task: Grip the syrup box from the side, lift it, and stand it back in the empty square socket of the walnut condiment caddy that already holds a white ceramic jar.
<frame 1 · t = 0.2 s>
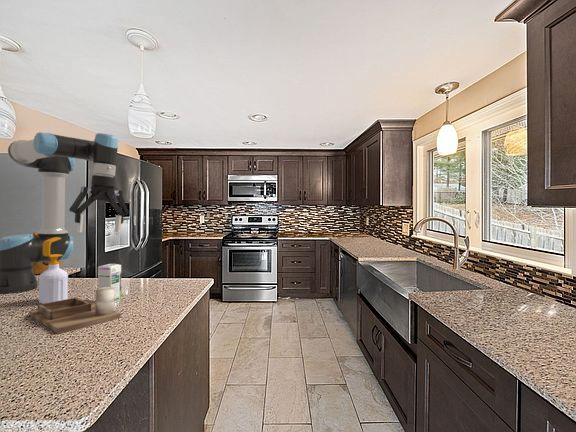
hand: (99, 232, 121), 27 cm above the countertop, tool pointing down, fingers open, 13 cm apart
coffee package: (46, 273, 171), on the countertop
soap bottle: (53, 301, 124), on the countertop
caddy: (74, 316, 108), on the countertop
syrup box: (109, 302, 125), on the countertop
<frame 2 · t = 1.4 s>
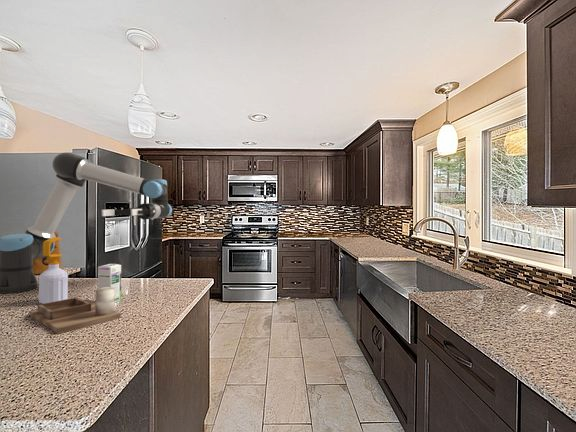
hand: (116, 212, 131), 35 cm above the countertop, tool horizontal, fingers open, 13 cm apart
nothing on the countertop moved.
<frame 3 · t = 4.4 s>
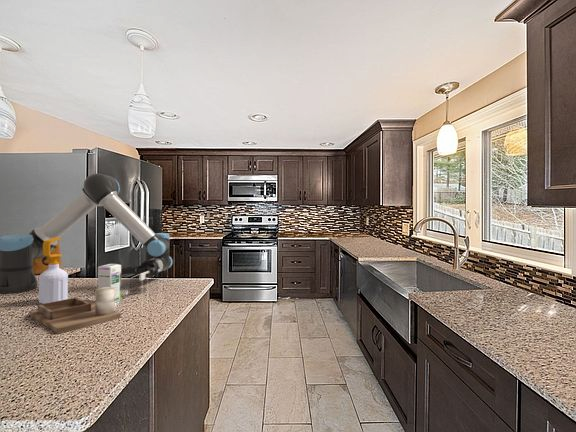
hand: (124, 276, 134), 8 cm above the countertop, tool horizontal, fingers open, 13 cm apart
nothing on the countertop moved.
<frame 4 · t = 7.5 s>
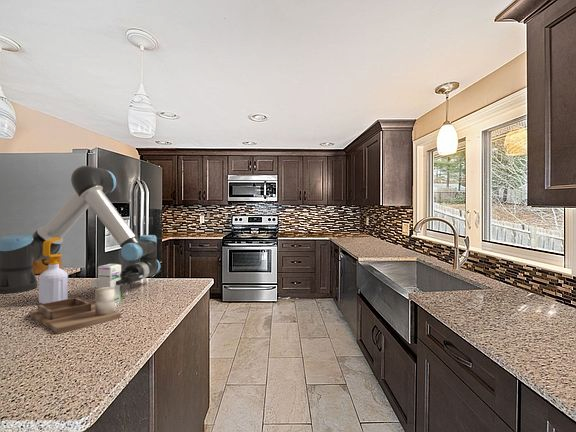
hand: (100, 284, 119), 8 cm above the countertop, tool horizontal, fingers closed on syrup box, 6 cm apart
syrup box: (109, 302, 125), on the countertop, touching gripper
everything else where it was.
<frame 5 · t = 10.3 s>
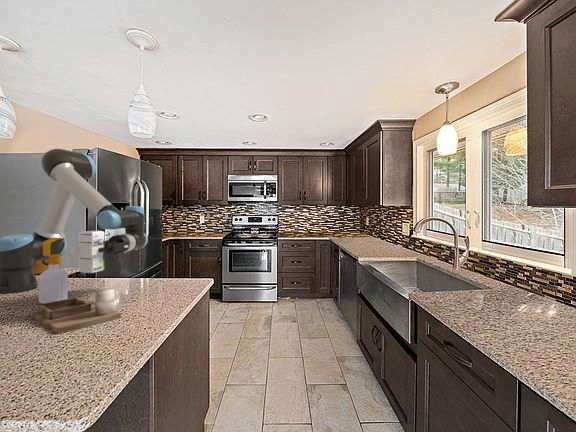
hand: (81, 251, 110), 22 cm above the countertop, tool horizontal, fingers closed on syrup box, 6 cm apart
syrup box: (91, 271, 115), point 14 cm above the countertop, touching gripper
everything else where it was.
when the fingers open (11 cm above the countertop, at t = 13.4 s): syrup box drops 1 cm, resting on caddy.
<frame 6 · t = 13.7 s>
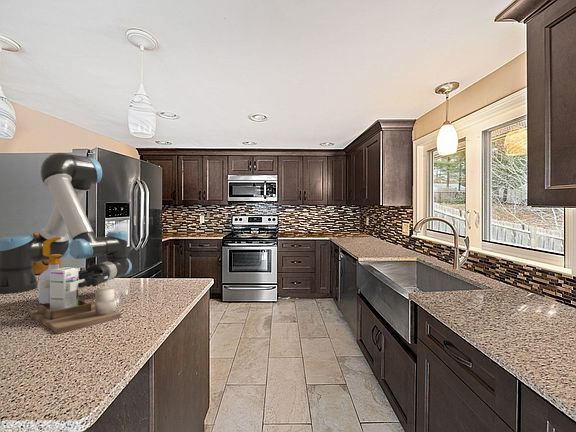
hand: (54, 286, 103), 11 cm above the countertop, tool horizontal, fingers open, 10 cm apart
syrup box: (64, 312, 108), point 1 cm above the countertop, touching caddy
everything else where it was.
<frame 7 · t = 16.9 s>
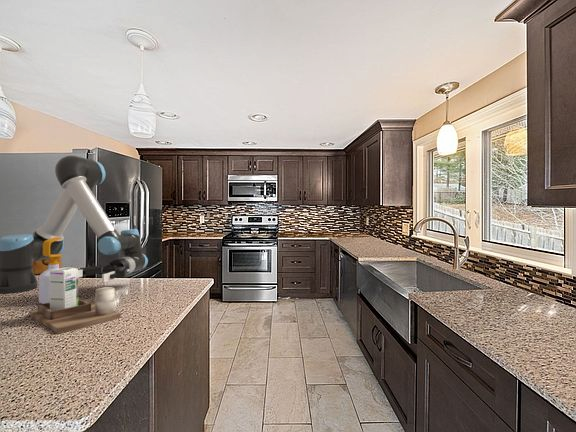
hand: (85, 277, 117), 11 cm above the countertop, tool horizontal, fingers open, 13 cm apart
nothing on the countertop moved.
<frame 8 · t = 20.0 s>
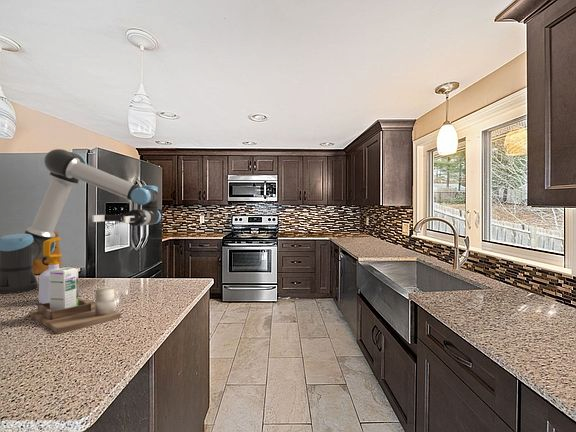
hand: (108, 219, 129), 32 cm above the countertop, tool horizontal, fingers open, 13 cm apart
nothing on the countertop moved.
at the end: syrup box 0.1 cm from the target spot on the caddy, point 1.3 cm above the caddy's base; syrup box tilted 0°; the gripper is holding nothing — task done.
